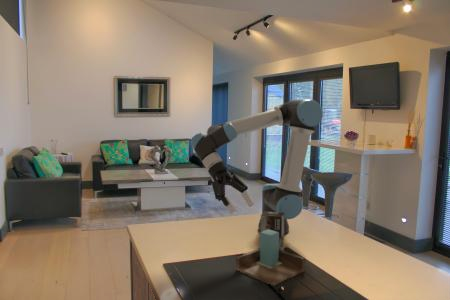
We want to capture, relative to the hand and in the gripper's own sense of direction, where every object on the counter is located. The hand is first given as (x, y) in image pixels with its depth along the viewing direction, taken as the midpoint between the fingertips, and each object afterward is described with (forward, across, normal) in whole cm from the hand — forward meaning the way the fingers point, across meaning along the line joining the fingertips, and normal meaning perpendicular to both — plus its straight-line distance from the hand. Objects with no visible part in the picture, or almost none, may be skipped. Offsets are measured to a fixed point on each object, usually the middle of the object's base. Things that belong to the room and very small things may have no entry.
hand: (243, 208), depth 153 cm
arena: (+25, +4, -2) cm, 26 cm away
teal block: (+23, +1, -3) cm, 23 cm away
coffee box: (+19, -14, -9) cm, 25 cm away
